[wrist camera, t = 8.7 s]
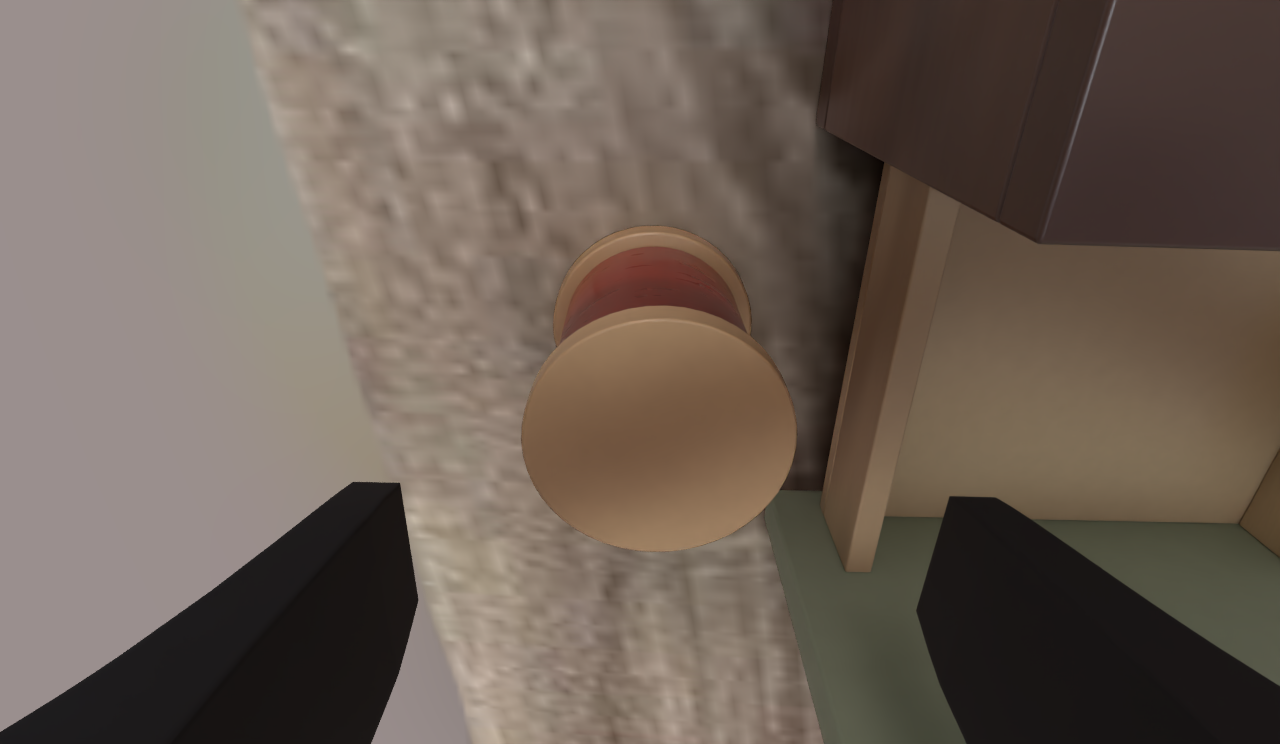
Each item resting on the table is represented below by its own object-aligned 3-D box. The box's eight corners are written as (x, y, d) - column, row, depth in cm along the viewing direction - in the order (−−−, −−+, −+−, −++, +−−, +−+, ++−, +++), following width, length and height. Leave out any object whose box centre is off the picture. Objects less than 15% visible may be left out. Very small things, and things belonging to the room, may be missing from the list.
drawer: (1186, 648, 21) (1486, 984, 14) (745, 641, 21) (807, 980, 13) (1552, -4, 13) (2760, -46, 6) (841, -31, 13) (1127, -113, 5)
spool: (783, 341, 16) (846, 473, 12) (629, 434, 18) (627, 590, 13) (679, 183, 15) (701, 261, 10) (515, 298, 16) (462, 418, 11)
